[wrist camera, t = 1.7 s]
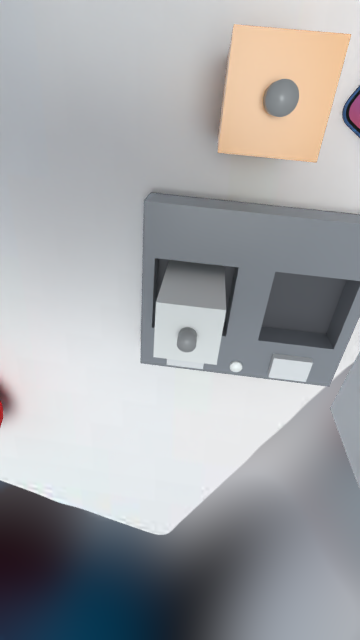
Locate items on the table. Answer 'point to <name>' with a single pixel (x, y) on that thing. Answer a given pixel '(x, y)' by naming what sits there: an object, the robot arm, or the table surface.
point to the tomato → (1, 413)
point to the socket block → (261, 282)
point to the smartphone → (353, 112)
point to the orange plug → (279, 91)
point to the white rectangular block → (190, 312)
